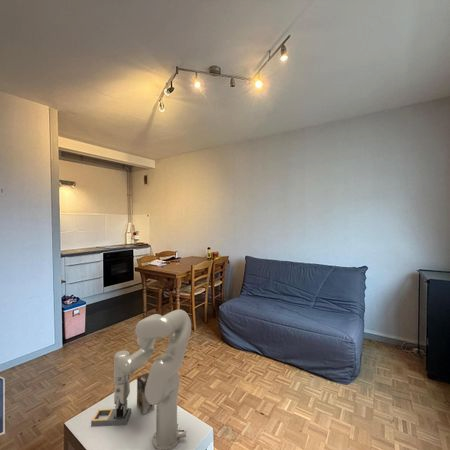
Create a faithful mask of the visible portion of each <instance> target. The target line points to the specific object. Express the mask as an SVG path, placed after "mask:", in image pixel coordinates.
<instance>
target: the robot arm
mask: <svg viewBox="0 0 450 450" xmlns="http://www.w3.org/2000/svg"><path fill="white" fill-rule="evenodd" d="M191 333H192V321H191V318H190V316H189V315H188V313H187V312H186V311H185V310H183V309H175V310H172V311H170V312H168V313H166V314H164V315H161V314H158V313H154V314H152V315H149V316H147V317H144V318H143V319H141V320H139V321H138V322H137V324H136V325H135V335H136V336H137V338H136V343H137V346H139V347H140V348H139V349H138V350H137V351H135V352H134V353H133V354H131V355H130V352H129V351H128V350H125V349H124V350H119V351H117V352H116V353H115V354H114V357H113V383H114V396H113V398H114V399H113V400H114V401H113V402H114V403H113V404H114V405H115V406H116V407H114V409H116V417H123V408H122V407H123V404H124V403H125V401H126V400H127V401H128V397H129V396H130V393H131V392H130V391H131V387H130V377H131V376H130V375H131V374H133V373H134V372H135V371H137V370H138V369H140V368H141V367H143V366H144V365H145V364H147V362H148V361H149V360H150V358H151V357H152V355H153V354H154V350H155V342H156V340H157V339H161V338H165V337H166V338H167V337H168V336H170V335H171V336H170V339H169V341H168V344H167V348H166V350H165V352H164V353H163V354H161V356H160V357H158V358H157V359H156V360H155V361H153V363H152V365H151V366H150V369H149V373H148V374H149V376H148V379H147V383H146V387H145V398H146V400H147V402H148V403H149V404H150V405H154V406H156V413H155V415H156V416H155V417H156V418H155V420H156V423H155V426H156V427H155V433H154V434H153V437H152V445H153V447H154V449H156V450H172V449H174V448H175V447H176V446H177V445H178V443H179V442H180V439H181V438H186V437H187V431H186V430H185V427H179V423H178V399H179V398H178V395H179V388H180V383H181V379H180V374H179V372H178V371H179V370H180V369H181V367H182V365H183V361H184V358H185V354H186V351H187V347H188V343H189V339H190V337H191ZM119 404H121V406H119Z"/></svg>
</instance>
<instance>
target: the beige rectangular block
mask: <svg viewBox="0 0 450 450" xmlns="http://www.w3.org/2000/svg"><path fill="white" fill-rule="evenodd" d="M119 406H121V404H119ZM115 407H116V405H115ZM115 407H114V409H115ZM122 408H123V417H116V409H115V419H124V418H125V417H126V415H127V408H128V399H127V400H126V401H125V403H124V404H123V407H122Z"/></svg>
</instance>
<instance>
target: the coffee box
mask: <svg viewBox="0 0 450 450" xmlns="http://www.w3.org/2000/svg"><path fill="white" fill-rule="evenodd" d="M148 376H149V373H148V372H146V373H144V374H141V375H139V376H137V377H136V378H137V379H136V383H137V384H136V407H137V408H138V409H139V411H140V412H141V414H142V415H143V416H144V415H147V414H149V412H151V411H154V410H155V405H150V404H149V403H148V402H147V400H146V398H145V387H146V383H147V379H148Z"/></svg>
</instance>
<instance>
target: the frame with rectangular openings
mask: <svg viewBox="0 0 450 450" xmlns="http://www.w3.org/2000/svg"><path fill="white" fill-rule="evenodd" d="M131 415H132V408H130V407H127V415H126V417H125V418H124V419H115V408H101V409H100V408H99V409H98V410H97V411H96V412H95V415H94V416H93V418H92V420H91V421H90V424H91V425H90V426H91V427H109V426H126V425H127V424H128V421H129V419H130V417H131ZM101 416H102V417H103V416H107V417H106V418H99V417H101Z"/></svg>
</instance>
